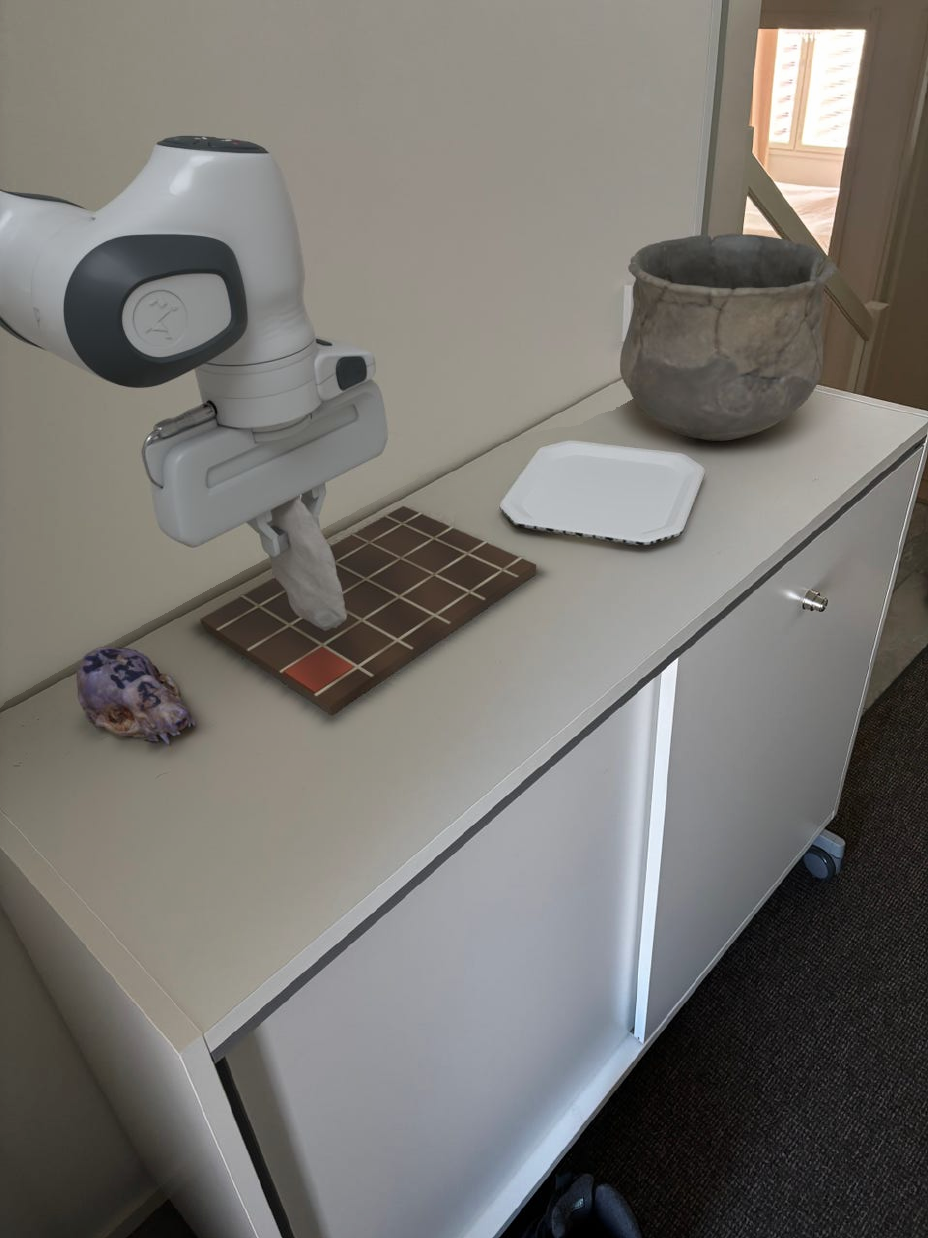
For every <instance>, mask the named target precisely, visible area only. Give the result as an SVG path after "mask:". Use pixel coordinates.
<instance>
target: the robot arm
mask: <svg viewBox="0 0 928 1238" xmlns="http://www.w3.org/2000/svg"><path fill="white" fill-rule="evenodd" d="M301 244H302V243H301V239H300V234H299V228H298V223H297V219H296V215H295V210H294V205H293V202H292V198H291V195H290V191H289V188H288V185H287V182H286V179H285V177H284V174H283V171H282V169H281V167H280V165H279V163H278V161H277V160H276V157H274V155H273V154H272V153H271V152H269V150H268V151H267V149H266V148H264V147H263V146H261V145H259V144H257V143H254V142H251V141H246V140H240V139H233V138H220V137H217V136H203V135H178V136H170V137H166V138H164V139H163V140H160V141H157V142H156V143H155V144H154V145H153V149H152V152H151V154H150V157H149V159H148V161H147V162H146V164H145V165H144V166H143V168H142V169H141V170H140V171H139V173H137V175H136V176H135V178H133V180H132V181H131V182H130V183H129V184H128V185H127V186H126V187H125V189H123V190H122V191H121V192H120V193H119V194H118V195H117V196H116V197H114V199H112V200H111V201H110V202H108V203H107V204H105V205H104V206H103V207H101V208H100V209H98V210H96V211H93V210H90V209H88V208H86V207H84V206H81V205H79V204H76V203H74V202H72V201H69V200H67V199H64V198H60V197H58V196H57V197H56V196H52V195H47V194H41V193H31V192H17V191H9V190H4V189H1V188H0V327H1V328H2V329H3V330H4V331H6V332H7V333H8V334H10V335H11V336H12V337H14V338H16V339H18V340H19V341H21V342H23V343H25V344H28V345H30V346H32V347H33V346H34V348H35V347H36V348H38V349H42V350H44V351H47V352H49V353H50V354H52V355H55V356H56V357H59V358H60V359H62V360H64V361H66V362H67V363H70V364H71V365H74V366H76V367H78V368H80V369H81V370H83V371H85V372H87V373H89V374H91V375H93V376H95V377H98V378H99V379H101V380H103V381H105V382H109V383H112V384H114V385H117V386H120V387H126V388H131V389H133V388H134V389H144V388H145V389H146V388H152V387H157V386H160V385H161V386H162V385H163V384H166V383H168V382H170V381H172V380H175V379H177V378H179V377H182V376H183V375H185V374H187V373H189V372H191V371H193V370H194V373H195V378H196V381H197V386H198V390H199V395H200V399H201V404H199V405H198V406H194V407H192V408H190V409H187V410H186V411H184V412H182V413H180V414H178V415H176V416H174V417H167V418H165V419H162V420H160V421H158V422H156V423H155V424H154V425H153V430H152V431H151V432H150V433H149V434H147V436H146V437H145V439H144V441H143V444H142V445H141V447H140V456H141V460H142V463H143V467H144V470H145V473H146V475H147V477H148V479H149V482H150V490H151V492H150V493H151V499H152V504H153V509H154V514H155V517H156V521H157V525H158V528H159V529H160V530H161V531H162V533H164V534H165V535H166V536H167V537H169V538H170V539H172V540H173V541H175V542H177V543H180V544H181V545H184V546H186V547H189V548H193V549H194V548H198V547H199V546H202V545H204V544H206V543H209V542H210V541H212V540H215V539H216V538H218V537H220V536H222V535H224V534H226V533H228V532H230V531H232V530H234V529H235V528H238V527H240V526H242V525H244V524H245V523H246V524H247V525H248V526H249V527H250V528H252V529H253V530H254V531H255V532H256V534H259V539H260V544H261V547H262V550H263V551H264V552H265V553H266V554H267V555H268V554H269V555H271V556H273V557H275V556H277V555H279V554H281V553H283V552H285V551H286V550H288V549H289V548H290V546H289V543H287V541H288V536H287V532H285V531H283V530H279V529H278V527H276V526H274V525H273V526H271V527H269V526H268V525H267V524H266V522H269V521H271V520H272V515H271V510H272V509H274V508H276V507H278V506H280V505H282V504H284V503H286V502H288V501H290V500H292V499H294V498H296V497H298V496H300V498H301V502H302V503H304V505H305V506H306V508H307V509H308V511H309V512H310V513H311V514H312V515H313V518H314V519H315V521H316V522H317V524H318V526H319V528H320V529H321V526H320V519H319V516H320V514H321V511H322V508H323V505H324V502H325V499H326V495H327V489H326V483H328V482H329V481H331V480H333V479H336V478H337V477H340V476H342V475H343V474H346V473H347V472H350V471H351V470H354V469H355V468H357V467H359V466H361V465H364V464H365V463H367V462H369V461H371V460H373V459H375V458H378V457H379V456H381V455H382V454H383V452H384V450H385V447H386V445H387V443H388V440H389V439H388V438H389V433H388V422H387V421H388V420H387V415H386V409H385V403H384V399H383V395H382V391H381V388H380V386H379V384H378V383H377V382H376V381H375V380H374V379H373V378H374V377H375V375H376V371H377V368H376V367H377V365H376V364H377V363H376V358H375V356H374V354H373V353H372V352H370V351H368V350H367V349H363V348H361V347H358V346H356V345H354V344H350V343H347V342H344V341H341V340H337V339H332V338H329V337H328V338H327V337H323V336H319V335H318V336H317V335H316V333H315V329H314V325H313V323H312V321H311V319H310V317H309V314H308V312H307V308H306V305H305V298H304V291H305V290H304V289H305V281H306V270H305V262H304V256H303V250H302V245H301ZM269 555H268V556H269Z"/></svg>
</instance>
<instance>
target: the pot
mask: <svg viewBox="0 0 928 1238" xmlns="http://www.w3.org/2000/svg"><path fill="white" fill-rule="evenodd" d="M826 260H827V257H826V256H825V255H824V254H823V253H822V252H821V251H820V250H818V249H817V248H815V247H814V246H811V245H808V244H805V243H800V242H799V243H798V242H794V241H793V240H788V239H783V238H780V237H773V236H767V235H761V234H750V233H749V234H748V233H747V234H745V233H727V234H726V233H725V234H719V235H715V236H714V237H711V236H710V235H708V234H699V235H698V234H697V235H692V236H691V235H690V236H687V237H682V238H676V239H667V240H661V241H660V242H655V243H651V244H648V245H646V246H644V247H641V248H640V249H639V250H637V252H636V253H635V254H634V255H633V256H632V257H631V258H630V263H629V264H628V267H627V268H628V271H629V273H631V275H632V276H633V277H634V278H635V280H634V283H633V285H632V301H633V302H632V303H633V307H632V313H631V317H630V320H629V324H628V328H627V331H626V335H625V338H624V341H623V344H622V347H621V351H620V358H619V372H620V376H621V379H622V381H623V383H624V384H625V386H626V388H627V390H629V392H630V395H631V397H632V399H633V401H634V403H636V405H637V406H638V407H639V408H640V409H641V410H642V411H643V412H644V413H646V414H647V415H648V416H649V417H650V418H651V419H652V420H654V422H655V423H656V424H657V425H659V426H661V427H663V428H665V429H667V430H669V431H672V432H674V433H676V434H679V435H682V436H684V437H687V438H688V437H689V438H694V439H699V440H704V441H712V442H724V441H731V440H732V441H734V440H738V439H741V438H744V437H748V436H751V435H754V434H757V433H760V432H763V431H765V430H767V429H769V428H771V427H773V426H775V425H776V424H777V423H779V422H781V421H783V420H785V419H786V418H788V417H790V415H792V414H794V413H795V412H796V411H797V410H798V409H800V408H801V407H802V406H803V405H804V404H805V403H806V402H807V400H808V399H809V398H810V396H811V395H812V394H813V392H814V391H815V389H816V387H817V385H818V383H819V382H820V380H821V378H822V373H823V368H824V367H823V366H824V341H823V326H822V325H823V315H824V310H825V309H824V308H825V306H824V305H825V304H824V295H825V288H826V287H825V286H826V284H827V283H829V281H830V280H831V279H832V278H833V277H835V275H836V274H837V272H838V267H837V266H836V264H835V263H834V262H833V261H832V262H831V261H828V262H825V261H826ZM824 262H825V263H824ZM823 263H824V265H823V266H822V267H821V265H822V264H823ZM820 268H821V269H820Z"/></svg>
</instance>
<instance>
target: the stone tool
mask: <svg viewBox="0 0 928 1238" xmlns="http://www.w3.org/2000/svg"><path fill="white" fill-rule="evenodd" d="M271 515H272V520H271V521H269V522H266V524H267V525H268V526H269V527H271V526H273V525H274V526H276V527H278V529H279V530H283V531H285V532H287V536H288V541H287V543H289V546H290V548H289V549H288V550H286V551H285V552H283V553H281V554H279V555H277V556H275V557H273V556H271V555H269V554H267V555H268V557H269V559H270V569H271V570H272V576H273V578H275V579H276V580H277V581H279V582H280V584H281V585H282V586H283V587H284V588H285V590H286V592H287V594H288V598H289V603H290V606H291V607H292V609H293V610H294V612H295V613H296V614H297V615H298V616H299V617H301V618H303V619H305V620H307V621H309V622H311V623H312V624H314V625H316V626H317V627H319V628H321V629H323V630H325V631H326V630H328V629H330V628H332V627H334V628H337V626H338V625H340V624H341V622H343V621H344V620H346V619H347V612H346V609H345V602H344V599H343V592H342V587H341V583H340V581H339V579H338V577H337V573H336V571H337V570H336V565H335V559H334V557H333V554H332V551H331V548H330V546H331V545H329V543H328V542H327V540H326V537H325V535H324V534H323V532H322V530H321V527H320V528H319V526H318V524H317V522H316V521H315V519H314V518H313V515H312V514H311V513H310V512H309V511H308V509H307V508H306V506H305V505H304V503H302V502H301V495H300V496H298V497H296V498H294V499H292V500H290V501H288V502H286V503H284V504H282V505H280V506H278V507H276V508H274V509H272V510H271Z"/></svg>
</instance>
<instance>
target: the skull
mask: <svg viewBox="0 0 928 1238" xmlns="http://www.w3.org/2000/svg"><path fill="white" fill-rule="evenodd" d="M75 674H76V675H75V676H76V685H77V687H76V688H77V699H78V703H79V705H80V706H81V708H82V710H83V711H85V717H86V718H87V719H89V720H90V721H91V722H92V724H93V725H94V726H95V727H97V728H104V729H106V731H109V732H110V733H112V734H113V735H115V736H119V737H132V738H133V737H134V738H139V739H141V741H145V740H147V741H150V742H159V741H160V740H159V738H158V735H159V736H160V739H162V740H163V741H164V742H165V743H166V744H167V745H170V740H169V737H168V733H169V734H171V735H172V736H173V737H175V736H176V735H181V733H180V731H181V730H182V729H185V728H186V727H187V726H188V728H190V727H191V725H192V726H193V727H195V725H196V721H195V719H194V717H193V715H192V713H191V712H190V710H189V708H188V707H187V706H186V704H185V703H184V702H183V701H182V699H181V695H182V694H181V690H180V688H179V686H178V685H177V683H176V682H175V681H174V679H172V678H171V676H170V675H169V674H168V673H161V672H160V671H159V669H158V667H157V666H156V665H155V664H153V662H152V661H151V659H150V658H149V657H148V656H147V655H145V654H144V653H143V652H140V651H138V649H135V648H130V647H129V648H128V647H121V646H119V647H114V646H99V647H95V648H94V649H93V650H91V651H89V652H88V653H86V654H84V656H83V657H82V659H81V662H80V664H79V666H78V668H77V671H76V673H75ZM164 684H167V686H169V687H170V688H171V690H173V691H170V689H168V688H167V687H166V685H164ZM111 718H112V720H113V719H114V720H115V721H111V720H110V719H111Z"/></svg>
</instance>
